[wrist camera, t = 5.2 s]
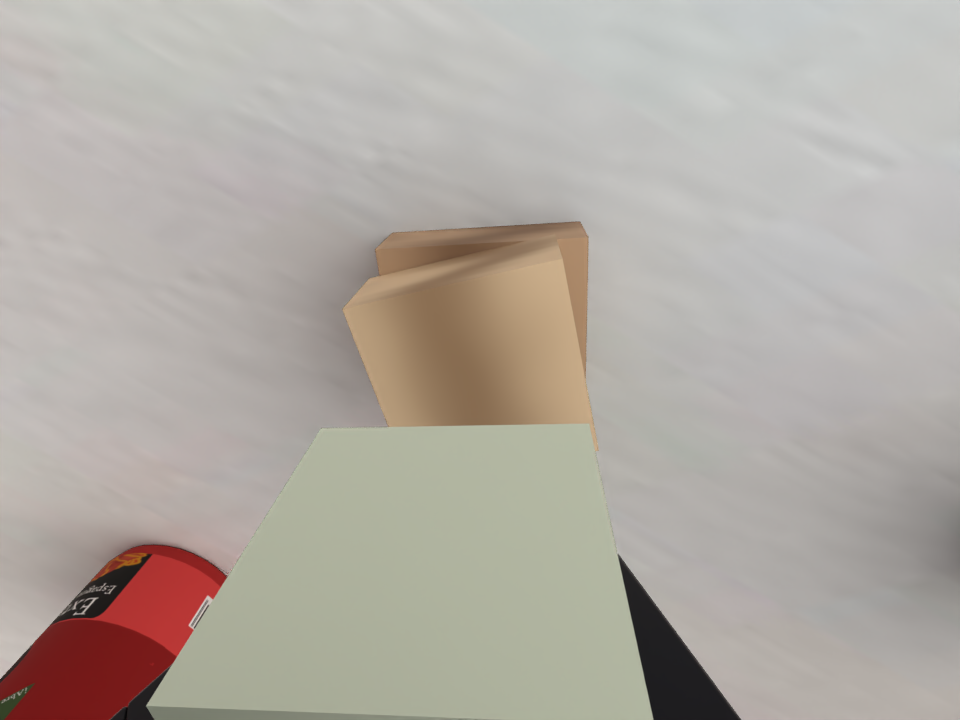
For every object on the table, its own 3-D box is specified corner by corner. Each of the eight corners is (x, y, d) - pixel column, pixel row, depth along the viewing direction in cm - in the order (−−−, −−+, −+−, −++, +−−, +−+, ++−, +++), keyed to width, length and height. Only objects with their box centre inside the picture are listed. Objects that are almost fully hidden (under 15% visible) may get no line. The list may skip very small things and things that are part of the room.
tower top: (554, 234, 16) (562, 258, 14) (587, 402, 19) (598, 450, 16) (369, 278, 17) (342, 309, 15) (424, 431, 20) (409, 481, 17)
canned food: (135, 517, 27) (-88, 753, 17) (268, 588, 29) (136, 839, 19) (92, 592, 30) (-118, 829, 20) (215, 652, 32) (77, 897, 22)
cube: (589, 423, 9) (654, 725, 5) (583, 612, 11) (624, 941, 7) (321, 428, 10) (145, 706, 5) (365, 608, 12) (269, 913, 7)
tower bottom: (578, 218, 19) (588, 237, 16) (576, 383, 22) (584, 421, 19) (395, 229, 20) (375, 249, 17) (418, 388, 23) (404, 425, 20)
